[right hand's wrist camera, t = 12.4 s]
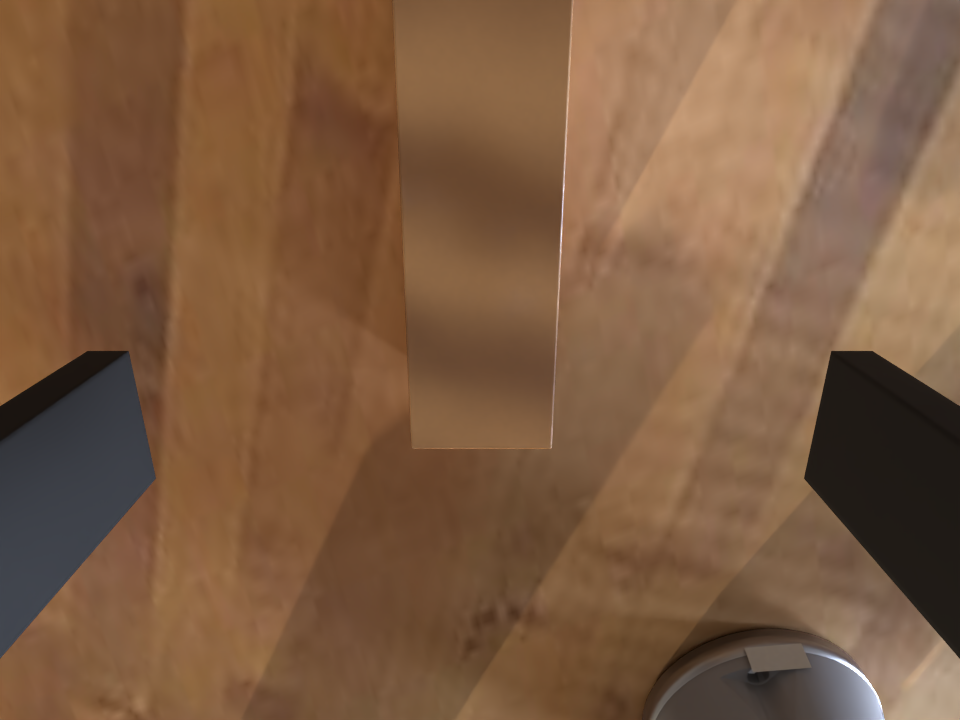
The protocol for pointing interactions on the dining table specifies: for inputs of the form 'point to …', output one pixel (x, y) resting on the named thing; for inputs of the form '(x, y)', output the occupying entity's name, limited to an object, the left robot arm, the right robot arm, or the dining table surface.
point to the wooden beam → (482, 214)
